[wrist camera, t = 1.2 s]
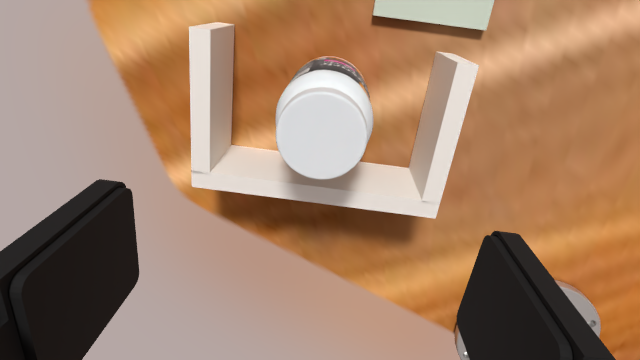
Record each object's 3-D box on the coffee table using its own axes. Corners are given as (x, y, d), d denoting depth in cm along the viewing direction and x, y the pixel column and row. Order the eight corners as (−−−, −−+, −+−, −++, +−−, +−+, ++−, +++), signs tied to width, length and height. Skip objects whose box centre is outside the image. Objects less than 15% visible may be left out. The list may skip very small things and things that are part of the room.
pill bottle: (383, 86, 28) (403, 126, 19) (336, 147, 30) (334, 208, 21) (318, 37, 27) (308, 55, 18) (274, 104, 29) (244, 150, 20)
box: (420, 183, 31) (435, 218, 26) (215, 156, 31) (191, 186, 26) (453, 53, 27) (478, 65, 22) (217, 22, 27) (189, 26, 22)
